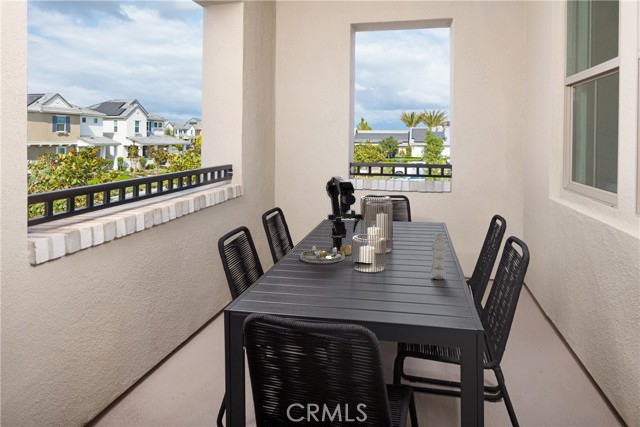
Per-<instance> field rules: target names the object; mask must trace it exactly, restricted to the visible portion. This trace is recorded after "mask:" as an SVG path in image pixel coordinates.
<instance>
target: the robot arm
mask: <svg viewBox="0 0 640 427" xmlns="http://www.w3.org/2000/svg"><path fill="white" fill-rule="evenodd" d="M355 190H356V189H355V187H354V185H353V182H352V181H351V180H346V179H345V180H344V179H343V178H342V177H341V176H331V179H329V180H328V181H327V182H326V185H325V191H326V194H327V197H329V198H330V203H331V204H330V205H331V213H330V214H327V221H329V222H331V223H332V224H331V228H330V231H329V234H328V235H329V238H330V239H332V245H331V246H330V248H331V250H333V248H337V250H340V247H342V246H343V239H346V238H347V232H348V230H347V227H346V224H345V222H344V221H343V220H347V219H348V220H352V219H353V222H352V223H353V225H352V226H353V227H352V233H354V234H355V232H356V229H357V227H358V226H357V225H358V223H359V222H361V221H363V220H364V215H363V214H362V213H356V209H351V206H353V205H354V204H355V203H356V201H357V199H356V196H355V195H354V194H355Z"/></svg>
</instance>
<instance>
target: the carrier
mask: <svg viewBox="0 0 640 427" xmlns="http://www.w3.org/2000/svg"><path fill="white" fill-rule="evenodd" d="M299 256H300V260H301V261H303V262H306V263H309V264H310V263H311V264H318V265H319V264H320V265H321V264H323V265H326V264H335V263H339V262H343V261H344V260H345V257H346V255H345V254H344V253H343V252H340V250H338V249H337V248H333V249H324V248H323V249H317V246H316V245H313V246H312V247H311V250H305V251H301V253H299Z"/></svg>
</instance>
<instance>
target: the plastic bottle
mask: <svg viewBox="0 0 640 427" xmlns="http://www.w3.org/2000/svg"><path fill="white" fill-rule="evenodd" d="M434 239H435V240H434V241H433V243H432V245H431V252H432V255H431V256H432V261H431V262H432V263H431V267H430V277H431V278H432V279H435V280H443V279H445V277H446V274H447V272H446V255H447V249H448V245H447V244H446V241H445V235H444V234H441V233H436V234H435V236H434Z"/></svg>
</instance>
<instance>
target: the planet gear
mask: <svg viewBox="0 0 640 427" xmlns="http://www.w3.org/2000/svg"><path fill="white" fill-rule="evenodd" d="M351 247H352V246H351V245H349V244H342V247H340V249H339V251H340V252H343V253H344V254H345V256H348V255H352V254H351Z"/></svg>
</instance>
